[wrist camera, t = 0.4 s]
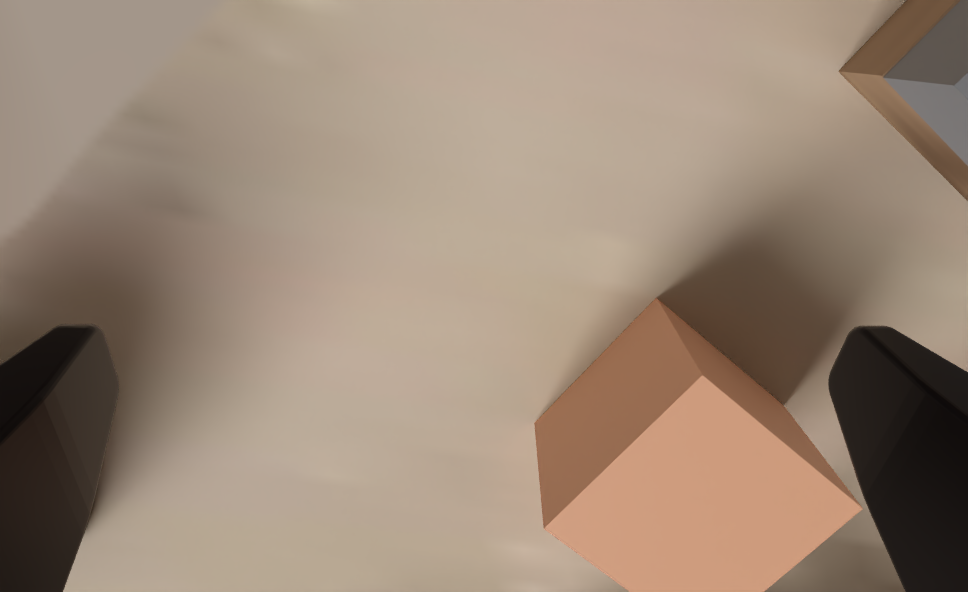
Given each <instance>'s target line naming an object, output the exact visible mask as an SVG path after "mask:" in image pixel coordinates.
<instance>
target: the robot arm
mask: <svg viewBox="0 0 968 592" xmlns="http://www.w3.org/2000/svg"><path fill="white" fill-rule="evenodd" d="M828 385H829V392H830V396H831V399H832V402H833V405H834V408H835V411H836V414H837V417H838V420H839V424H840V427H841V430H842V433H843V436H844V439H845V442H846V445H847V448H848V451H849V455H850V458H851V461H852V464H853V467H854V470H855V473H856V476H857V479H858V482H859V485H860V488H861V491H862V493H863V496H864V499H865V501H866V504H867V506H868V508H869V511H870V513H871V516H872V518H873V520H874V522H875V525H876V527H877V529H878V531H879V534H880V536H881V538H882V540H883V542H884V545H885V547H886V549H887V551H888V554H889V556H890V558H891V560H892V563H893V565H894V567H895V569H896V572H897V574H898V576H899V578H900V581H901V583H902V585H903V587H904V589H905V592H968V372H966V371H965V370H963V369H961V368H959V367H958V366H956V365H954V364H953V363H951V362H949V361H947V360H946V359H944V358H942V357H941V356H939V355H937V354H936V353H934V352H932V351H930V350H929V349H927V348H925V347H924V346H922V345H920V344H919V343H917V342H915V341H913V340H912V339H910V338H908V337H907V336H905V335H903V334H901V333H900V332H898V331H896V330H895V329H893V328H891V327H887V326H858V327H855V328H854V329H852V330H851V331H850V332H849V334H848V336H847V338H846V340H845V342H844V344H843V346H842V348H841V350H840V353H839V355H838V357H837V359H836V361H835V363H834V365H833V367H832V369H831V372H830V375H829V384H828ZM118 392H119V383H118V376H117V373H116V370H115V366H114V363H113V360H112V357H111V354H110V351H109V347H108V344H107V341H106V338H105V335H104V333H103V331H102V330H101V328H100V327H98V326H96V325H93V324H64V325H59V326H57V327H55V328H53V329H52V330H50V331H49V332H47V333H46V334H44V335H43V336H42V337H40V338H39V339H37V340H36V341H34V342H33V343H31V344H30V345H28V346H27V347H25V348H24V349H22V350H21V351H19V352H18V353H17V354H15V355H14V356H12V357H11V358H9V359H8V360H6V361H5V362H3V363H2V364H0V592H63V590H64V587H65V585H66V582H67V579H68V576H69V574H70V571H71V568H72V565H73V563H74V560H75V557H76V554H77V552H78V549H79V546H80V543H81V541H82V538H83V535H84V532H85V529H86V526H87V523H88V520H89V517H90V514H91V510H92V506H93V502H94V498H95V494H96V490H97V486H98V481H99V477H100V473H101V468H102V464H103V460H104V455H105V451H106V447H107V442H108V438H109V434H110V429H111V425H112V421H113V416H114V412H115V408H116V403H117V399H118Z"/></svg>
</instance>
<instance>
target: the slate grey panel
mask: <svg viewBox="0 0 968 592" xmlns="http://www.w3.org/2000/svg"><path fill="white" fill-rule="evenodd" d="M883 78H884V79H885V80H886V81H887V82H888V84H889V85H890V86H891V87H892V88H893V89H894V90H895V91H896V92H897V93H898V94H899V95H900V96H901V97H902V98H903V99H904V100H905V101H906V102H907V103H908V104H909V105H910V106H911V107H912V108H913V110H914V111H915V112H916V113H917V114H918V115H919V116H920V117H921V118H922V119H923V120H924V121H925V122H926V123H927V124H928V125H929V126H930V127H931V128H932V129H933V130H934V131H935V132H936V133H937V135H938V136H939V137H940V138H941V139H942V140H943V141H944V142H945V143H946V144H947V145H948V146H949V147H950V148H951V149H952V150H953V151H954V152H955V153H956V154H957V155H958V156H959V157H960V158H961V159H962V161H963V162H964V163H965V164H966V165H967V166H968V0H960V1H959V2H958V3H957V4H956V5H955V6H954V7H953V8H952V9H951V10H950V11H949V12H948V13H947V14H946V15H945V16H944V17H943V18H942V19H941V20H940V21H939V22H938V23H937V24H936V25H935V26H934V27H933V28H932V29H931V30H930V31H929V32H928V33H927V34H926V35H925V36H924V37H923V38H922V39H921V40H920V41H919V42H918V43H917V44H916V45H915V46H914V47H913V48H912V49H911V50H910V51H909V52H908V53H907V54H906V55H905V56H904V57H903V58H902V59H901V60H900V61H899V62H898V63H897V64H896V65H895V66H894V67H893V68H892V69H891V70H890V71H889V72H888V73H887V74H886V75H885V76H884V77H883Z"/></svg>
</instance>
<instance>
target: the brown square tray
mask: <svg viewBox="0 0 968 592" xmlns="http://www.w3.org/2000/svg"><path fill="white" fill-rule="evenodd" d="M959 1H960V0H907V1H906V2H905V3H904V4H903V5H902V6H901V7H900V8H899V9H898V10H897V11H896V12H895V13H894V14H893V15H892V16H891V17H890V18H889V19H888V20H887V21H886V22H885V24H884V25H883V26H882V27H881V28H880V29H879V30H878V31H877V32H876V33H875V34H874V35H873V36H872V37H871V38H870V39H869V40H868V41H867V42H866V43H865V44H864V45H863V46H862V47H861V48H860V49H859V50H858V52H857V53H856V54H855V55H854V56H853V57H852V58H851V59H850V60H849V61H848V62H847V63H846V64H845V65H844V66H843V67H842V68H841V69H840V70H839V71H838V72H839V73H840V74H841V75H842V76H843V77H844V78H845V79H846V80H847V81H848V82H849V83H850V84H851V85H852V86H853V87H854V88H855V89H856V90H857V91H858V92H859V93H860V94H861V95H862V96H863V97H864V98H865V99H866V100H867V101H868V102H869V103H870V104H871V105H872V106H873V107H874V108H875V109H876V110H877V111H878V112H879V113H880V114H881V115H882V116H883V117H884V118H885V119H886V120H887V121H888V122H889V123H890V124H891V125H892V126H893V127H894V128H895V129H896V130H897V131H898V132H899V133H900V134H901V135H902V136H903V137H904V138H905V139H906V140H907V141H908V142H909V143H910V144H911V145H912V146H913V147H914V148H915V149H916V150H917V151H918V152H919V153H920V154H921V155H922V156H923V157H924V158H925V159H926V160H927V161H928V162H929V163H930V164H931V165H932V166H933V167H934V168H935V169H936V170H937V171H938V172H939V173H940V174H941V175H942V176H943V177H944V178H945V179H946V180H947V181H948V182H949V183H950V184H951V185H952V186H953V187H954V188H955V189H956V190H957V191H958V192H959V193H960V194H961V195H962V196H963V197H964V198H965V199H966V200H967V201H968V166H967V165H966V164H965V163H964V162H963V161H962V159H961V158H960V157H959V156H958V155H957V154H956V153H955V152H954V151H953V150H952V149H951V148H950V147H949V146H948V145H947V144H946V143H945V142H944V141H943V140H942V139H941V138H940V137H939V136H938V135H937V133H936V132H935V131H934V130H933V129H932V128H931V127H930V126H929V125H928V124H927V123H926V122H925V121H924V120H923V119H922V118H921V117H920V116H919V115H918V114H917V113H916V112H915V111H914V110H913V108H912V107H911V106H910V105H909V104H908V103H907V102H906V101H905V100H904V99H903V98H902V97H901V96H900V95H899V94H898V93H897V92H896V91H895V90H894V89H893V88H892V87H891V86H890V85H889V84H888V82H887V81H886V80H885V79H884V78H883V77H884V76H885V75H886V74H887V73H888V72H889V71H890V70H891V69H892V68H893V67H894V66H895V65H896V64H897V63H898V62H899V61H900V60H901V59H902V58H903V57H904V56H905V55H906V54H907V53H908V52H909V51H910V50H911V49H912V48H913V47H914V46H915V45H916V44H917V43H918V42H919V41H920V40H921V39H922V38H923V37H924V36H925V35H926V34H927V33H928V32H929V31H930V30H931V29H932V28H933V27H934V26H935V25H936V24H937V23H938V22H939V21H940V20H941V19H942V18H943V17H944V16H945V15H946V14H947V13H948V12H949V11H950V10H951V9H952V8H953V7H954V6H955V5H956V4H957V3H958V2H959Z"/></svg>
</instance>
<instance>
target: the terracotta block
mask: <svg viewBox="0 0 968 592" xmlns="http://www.w3.org/2000/svg"><path fill="white" fill-rule="evenodd" d="M534 424H535V435H536V446H537V457H538V469H539V480H540V491H541V503H542V514H543V525H544V529H545V530H546V531H548V532H549V533H550V534H552V535H553V536H555V537H556V538H557V539H559V540H560V541H561V542H563V543H564V544H565V545H567V546H568V547H570V548H571V549H572V550H574V551H575V552H576V553H578V554H579V555H580V556H582V557H583V558H584V559H586V560H587V561H589V562H590V563H591V564H593V565H594V566H595V567H597V568H598V569H599V570H601V571H602V572H604V573H605V574H606V575H608V576H609V577H610V578H612V579H613V580H614V581H616V582H617V583H619V584H620V585H621V586H623V587H624V588H625V589H627V590H628V591H629V592H764V591H765V590H766V589H768V588H769V587H770V586H771V585H772V584H774V583H775V582H776V581H777V580H778V579H780V578H781V577H782V576H783V575H784V574H786V573H787V572H788V571H789V570H790V569H792V568H793V567H794V566H795V565H796V564H798V563H799V562H800V561H801V560H802V559H803V558H805V557H806V556H807V555H808V554H809V553H811V552H812V551H813V550H814V549H815V548H817V547H818V546H819V545H820V544H821V543H823V542H824V541H825V540H826V539H827V538H829V537H830V536H831V535H832V534H833V533H835V532H836V531H837V530H838V529H839V528H841V527H842V526H843V525H844V524H845V523H846V522H848V521H849V520H850V519H851V518H852V517H854V516H855V515H856V514H857V513H858V512H860V511H861V510H862V509H863V508H862V507H861V505H860V504H859V503H858V502H857V500H856V499H855V498H854V496H853V495H852V494H851V492H850V491H849V490H848V489H847V487H846V486H845V485H844V483H843V482H842V481H841V479H840V478H839V477H838V476H837V474H836V473H835V472H834V470H833V469H832V468H831V466H830V465H829V464H828V463H827V461H826V460H825V459H824V457H823V456H822V455H821V454H820V452H819V451H818V450H817V448H816V447H815V446H814V444H813V443H812V442H811V441H810V439H809V438H808V437H807V435H806V434H805V433H804V431H803V430H802V429H801V428H800V426H799V425H798V424H797V422H796V421H795V420H794V418H793V417H792V416H791V415H790V413H789V412H788V411H787V409H786V408H785V407H784V406H783V405H782V404H781V403H780V402H779V401H778V400H776V399H775V398H774V397H773V396H772V395H770V394H769V393H768V392H767V391H766V390H765V389H763V388H762V387H761V386H760V385H759V384H757V383H756V382H755V381H754V380H753V379H752V378H750V377H749V376H748V375H747V374H746V373H744V372H743V371H742V370H741V369H740V368H739V367H737V366H736V365H735V364H734V363H733V362H731V361H730V360H729V359H728V358H727V357H726V356H724V355H723V354H722V353H721V352H720V351H718V350H717V349H716V348H715V347H714V346H713V345H711V344H710V343H709V342H708V341H707V340H705V339H704V338H703V337H702V336H701V335H700V334H698V333H697V332H696V331H695V330H694V329H692V328H691V327H690V326H689V325H688V324H687V323H685V322H684V321H683V320H682V319H681V318H679V317H678V316H677V315H676V314H675V313H674V312H672V311H671V310H670V309H669V308H668V307H666V306H665V305H664V304H663V303H662V302H661V301H659V300H658V299H657V298H656V299H655V300H654V301H653V302H652V303H651V304H650V305H649V306H648V307H647V308H646V309H645V310H644V311H643V312H642V313H641V314H640V315H639V316H638V317H637V318H636V319H635V320H634V321H633V322H632V323H631V324H630V325H629V326H628V327H627V328H626V329H625V330H624V331H623V332H622V333H621V335H620V336H619V337H618V338H617V339H616V340H615V341H614V342H613V343H612V344H611V345H610V346H609V347H608V348H607V349H606V350H605V351H604V352H603V353H602V354H601V355H600V356H599V357H598V358H597V359H596V360H595V361H594V362H593V363H592V364H591V365H590V366H589V367H588V368H587V370H586V371H585V372H584V373H583V374H582V375H581V376H580V377H579V378H578V379H577V380H576V381H575V382H574V383H573V384H572V385H571V386H570V387H569V388H568V389H567V390H566V391H565V392H564V393H563V394H562V395H561V396H560V397H559V398H558V399H557V400H556V401H555V402H554V403H553V404H552V406H551V407H550V408H549V409H548V410H547V411H546V412H545V413H544V414H543V415H542V416H541V417H540V418H539V419H538V420H537V421H536V422H535V423H534Z"/></svg>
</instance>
